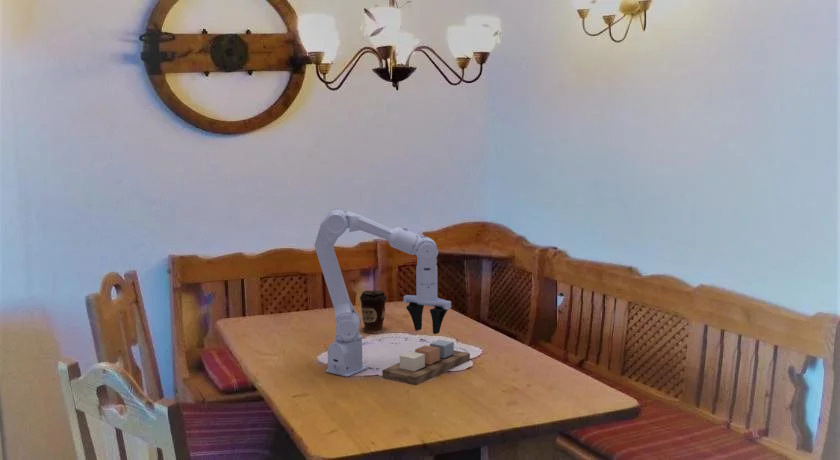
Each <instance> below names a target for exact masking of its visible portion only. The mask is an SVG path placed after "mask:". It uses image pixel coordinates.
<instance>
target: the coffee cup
mask: <svg viewBox="0 0 840 460" xmlns="http://www.w3.org/2000/svg"><path fill="white" fill-rule="evenodd" d="M387 298H388V296H387V295H385V292H384V291H383V290H375V289H374V290H363V291H362V292H361V295H360V296H359V299H360V302H361V303H360V304H361V305H360V309H361V310H360V311H361V319H362V323H363V325H364V327H363V331H364V332H365V333H369V334H370V333H371V334H374V333H375V334H379V333H383V332H384V328H383V327H384V326H383V325H384V320H385V315H386V303H387Z"/></svg>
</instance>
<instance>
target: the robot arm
mask: <svg viewBox="0 0 840 460" xmlns="http://www.w3.org/2000/svg"><path fill="white" fill-rule="evenodd" d="M347 229H348V232H349V233H351V232H352V233H353V232H357V231H362V232H364V233H367V234H370V235H372V236H375V237H379V238H381V239H384V240H387V241H388V243H389V246H390V247H391V248H394V249H396V250H399V251H401V252H403V253H405V254H409V255H410V256H411V255H412V256H414V255H416V257H417V259H416V261H417V263H416V267H415V269H416V274H415V275H416V276H415V277H416V280H415V281H416V285H415V286H416V289H415V290H416V295H413V294H412V295H411V294H406V295H404V296H403V303H404V304H408V305H406V310H407V311H408V313H409V315H410V317H411V319H412V323H413V326H414V331H416V332H418V331H420V330H422V327H423V313H424V312H423V311H424V307H426V306H428V307H432V308H430V309H429V313H430V317H431V320H432V334H433V335H438V334H439V333H440V332H441V327H442V323H443V320H444V318H445V316H446V314H447V312H448V310H450V309H452V301H451V300H446V299H443V298H439V297H438V265H437V263H438V259H437V258H438V255H439V250H438V245H437V244H436V242H435V241H434V239H432V238H431V237H429V236H425V234H422V233H420V235H419V234H417V233H414V232H413V231H410V230H408V227H407V226H402V227H401V226H396V227H395V228H390V227H388V226H386V225H384V224H381V223H380V222H376V221H375V220H372V219H370V218H368V217H366V216H363V215H361V214H358V213H355V212H352V211H349V210H347V211H346V210H344V209H342V208H339V207H338V208H333V209H331V210H330V211H329V212H328V214H327V215H326V216H325V217H324V219H323V221H322V222H321V223H320V224H319V228H318V233H317V236H316V238H315V242H314V249H315V252H316V255H317V258H318V262H319V265H320V268H321V272H322V275H323V278H324V281H325V285H326V286H327V290H328V293H329V296H330V299H331V302H332V306H333V310H334V318H335V320H336V325H335V332H336V333H335V334H336V335H335V340H334V341H333V342H331V344H329V346H328V348H327V369H325V372H326V373H329V374H334V375H338V376H343V377H345V378H346V377H350V376H351V377H352V376H353V375H356V374H357V373H360V372H364V371H365V370H368V369H370V366H369V365H365V364H363V335H362V334H361V333H360V327H361V324H362V320H361V319H362V318H361V316H360V315H359V313H358V312H357V311H356V310H355V308H354V305H353V303H352V301H351V298H350V296H349V292H348V289H347V286H346V283H345V280H344V276H343V274H342V271H341V267H340V264H339V260H338V258H337V254H336V251H335V248H334V246H335V244H336V243H337V240H338V239H339V238H340V237H341V236H343V234H344V233H345V232H346V231H347ZM433 307H434V308H433Z"/></svg>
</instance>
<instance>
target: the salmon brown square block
mask: <svg viewBox="0 0 840 460" xmlns="http://www.w3.org/2000/svg"><path fill="white" fill-rule="evenodd" d="M414 352H417V353H422V354H425V364H428V365H430V364H432V363H435V362H437V361H439V360H440V348H437V347H432V346H430V345H426V344H424V345H422V346H420V347H417V348H415V349H414Z"/></svg>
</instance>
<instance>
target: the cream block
mask: <svg viewBox="0 0 840 460" xmlns="http://www.w3.org/2000/svg"><path fill="white" fill-rule="evenodd" d="M399 363H400V368H401V369H406V370H410V371H416V370H419V369H421V368H423V367H425V354H422V353H417V352H415V351H412V350H411V351H408V352H404V353H403V354H400V355H399Z"/></svg>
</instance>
